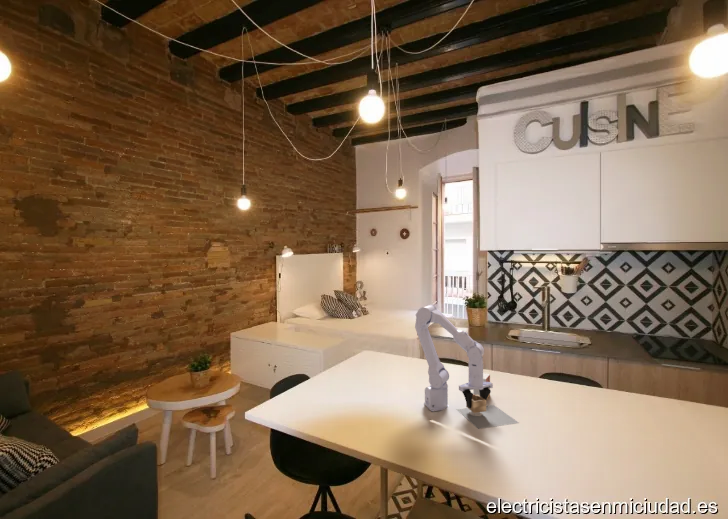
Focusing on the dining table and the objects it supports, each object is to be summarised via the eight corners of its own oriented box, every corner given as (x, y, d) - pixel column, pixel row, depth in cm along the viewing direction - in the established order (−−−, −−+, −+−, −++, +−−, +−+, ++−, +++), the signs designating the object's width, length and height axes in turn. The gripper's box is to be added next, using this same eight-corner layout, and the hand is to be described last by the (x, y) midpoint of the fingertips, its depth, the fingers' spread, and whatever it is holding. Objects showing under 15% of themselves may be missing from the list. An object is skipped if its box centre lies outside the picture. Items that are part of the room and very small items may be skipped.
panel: (478, 430, 124) (478, 418, 124) (456, 411, 139) (456, 400, 139) (519, 424, 128) (519, 412, 128) (493, 406, 144) (493, 395, 144)
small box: (485, 402, 147) (485, 379, 147) (473, 399, 151) (473, 376, 150) (490, 396, 154) (490, 374, 154) (478, 393, 157) (478, 371, 157)
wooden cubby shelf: (474, 413, 132) (474, 400, 132) (466, 406, 138) (466, 395, 138) (486, 411, 134) (486, 399, 134) (478, 405, 139) (478, 393, 139)
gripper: (465, 378, 130) (465, 412, 130) (497, 375, 134) (497, 408, 134) (456, 372, 137) (456, 405, 137) (486, 369, 140) (486, 401, 141)
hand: (475, 406), depth 136 cm, fingers closed on wooden cubby shelf, 6 cm apart
